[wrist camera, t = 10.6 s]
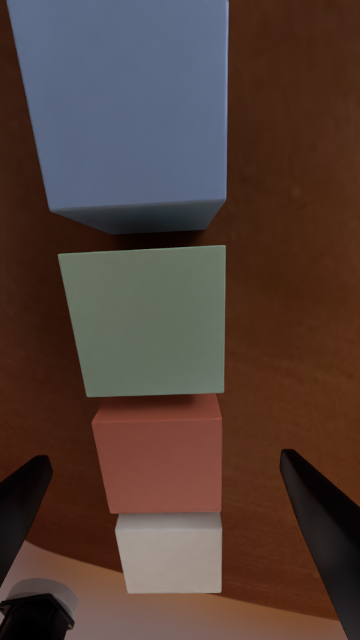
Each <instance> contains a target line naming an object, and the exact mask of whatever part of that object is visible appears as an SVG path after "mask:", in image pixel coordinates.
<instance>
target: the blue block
mask: <svg viewBox="0 0 360 640" xmlns="http://www.w3.org/2000/svg"><path fill="white" fill-rule="evenodd" d="M6 1H7V6H8V11H9V16H10V21H11V26H12V31H13V36H14V41H15V45H16V50H17V55H18V60H19V65H20V70H21V75H22V80H23V84H24V89H25V94H26V99H27V104H28V109H29V114H30V119H31V124H32V128H33V133H34V138H35V143H36V148H37V153H38V158H39V163H40V167H41V172H42V177H43V182H44V187H45V192H46V197H47V202H48V207H49V209H50V211H51V212H53V213H56V214H59V215H61V216H64V217H66V218H69V219H72V220H74V221H77V222H79V223H82V224H85V225H87V226H90V227H93V228H95V229H98V230H100V231H103V232H106V233H108V234H111V235H115V234H133V233H151V232H169V231H187V230H205V229H206V228H207V227H208V225H209V224H210V223H211V221H212V220H213V218H214V217H215V215H216V214H217V212H218V211H219V210H220V208H221V207H222V205H223V204H224V202H225V201H226V181H227V104H228V26H229V0H6Z"/></svg>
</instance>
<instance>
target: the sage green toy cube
mask: <svg viewBox="0 0 360 640" xmlns="http://www.w3.org/2000/svg"><path fill="white" fill-rule="evenodd" d="M58 259H59V264H60V269H61V274H62V279H63V284H64V288H65V293H66V298H67V303H68V308H69V313H70V318H71V322H72V327H73V332H74V337H75V342H76V347H77V352H78V356H79V361H80V366H81V371H82V376H83V381H84V386H85V390H86V395H87V397H112V396H143V395H173V394H204V393H223V392H224V345H225V268H226V246H225V245H218V246H199V247H180V248H161V249H142V250H123V251H104V252H85V253H66V254H58Z"/></svg>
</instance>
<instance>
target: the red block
mask: <svg viewBox="0 0 360 640" xmlns="http://www.w3.org/2000/svg"><path fill="white" fill-rule="evenodd" d="M91 425H92V430H93V434H94V439H95V444H96V449H97V453H98V458H99V463H100V468H101V472H102V477H103V482H104V487H105V491H106V496H107V501H108V506H109V511H110V513H111V514H112V513H169V512H220V511H221V510H222V416H221V412H220V408H219V404H218V400H217V396H216V393H204V394H173V395H143V396H112V397H106V398H105V399H104V401H103V403H102V405H101V406H100V408H99V410H98V412H97V413H96V415H95V417H94V419H93V420H92V422H91Z"/></svg>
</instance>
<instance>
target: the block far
mask: <svg viewBox="0 0 360 640" xmlns="http://www.w3.org/2000/svg"><path fill="white" fill-rule="evenodd" d="M115 534H116V539H117V544H118V549H119V554H120V558H121V563H122V568H123V573H124V578H125V582H126V588H127V592H128V593H220V592H221V574H222V524H221V517H220V512H169V513H119V516H118V520H117V524H116V528H115Z"/></svg>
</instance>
